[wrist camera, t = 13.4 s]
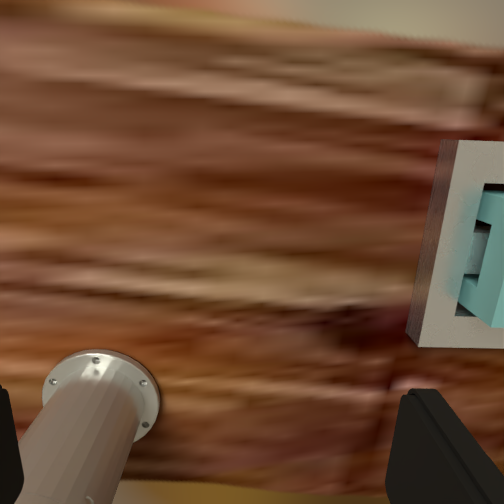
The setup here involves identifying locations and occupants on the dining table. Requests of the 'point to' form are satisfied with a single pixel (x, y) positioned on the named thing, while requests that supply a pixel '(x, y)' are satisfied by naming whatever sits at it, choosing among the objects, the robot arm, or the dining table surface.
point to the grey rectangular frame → (454, 248)
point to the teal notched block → (488, 266)
